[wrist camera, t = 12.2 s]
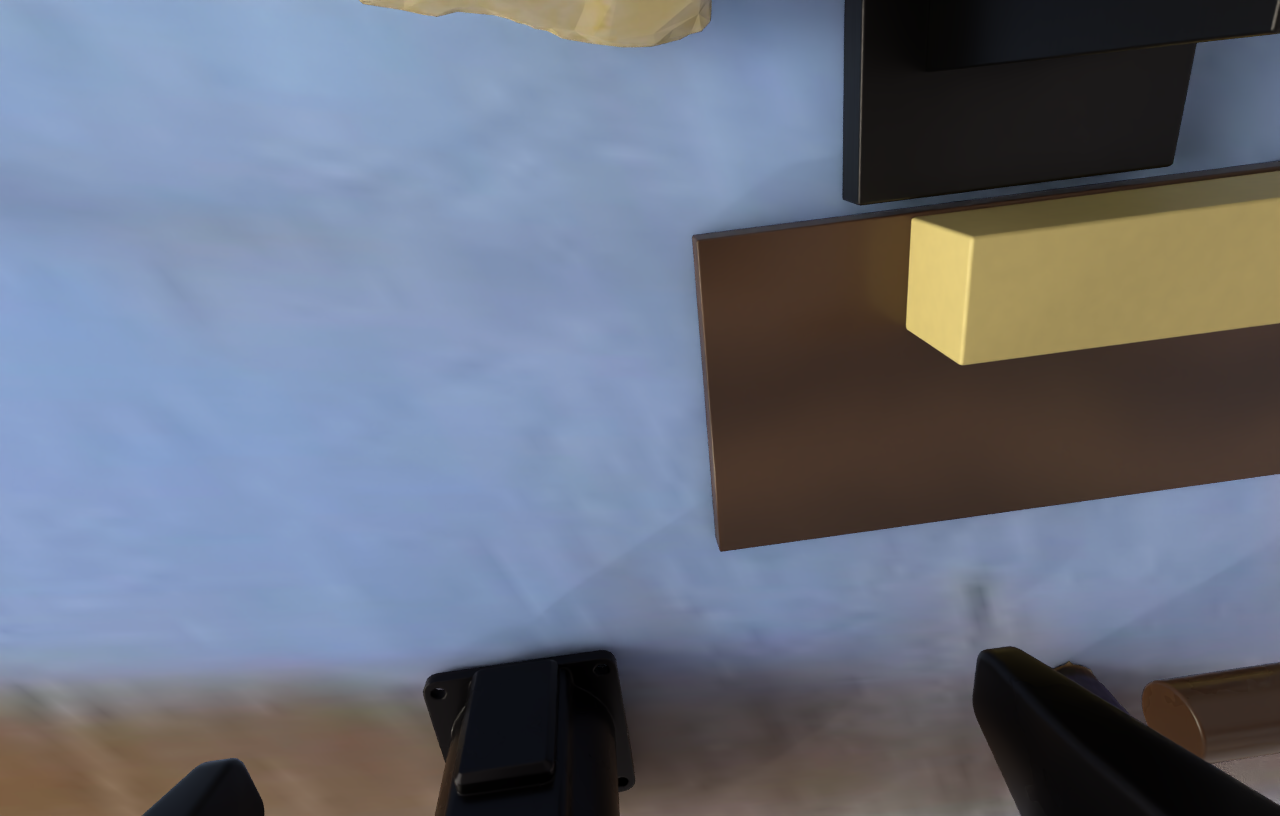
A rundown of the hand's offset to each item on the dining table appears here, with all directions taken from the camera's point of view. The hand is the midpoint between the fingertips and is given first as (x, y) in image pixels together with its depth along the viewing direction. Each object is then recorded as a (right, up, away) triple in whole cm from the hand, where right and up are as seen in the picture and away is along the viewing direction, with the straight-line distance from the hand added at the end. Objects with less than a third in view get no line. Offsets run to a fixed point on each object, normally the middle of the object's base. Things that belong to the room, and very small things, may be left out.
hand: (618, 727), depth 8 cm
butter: (+12, +8, +10) cm, 18 cm away
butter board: (+11, +5, +12) cm, 17 cm away
